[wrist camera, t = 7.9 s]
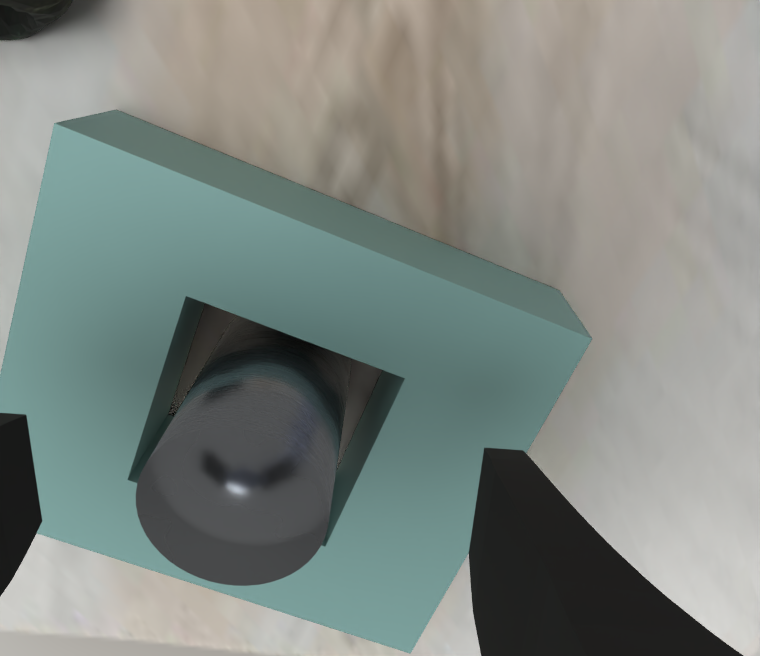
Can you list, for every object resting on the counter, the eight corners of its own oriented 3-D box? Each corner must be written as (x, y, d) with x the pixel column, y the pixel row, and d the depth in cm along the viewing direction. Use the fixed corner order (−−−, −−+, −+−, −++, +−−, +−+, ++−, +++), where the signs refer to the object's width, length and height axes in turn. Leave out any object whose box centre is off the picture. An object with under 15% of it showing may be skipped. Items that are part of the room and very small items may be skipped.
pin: (354, 305, 20) (332, 434, 13) (348, 424, 21) (325, 591, 15) (216, 296, 20) (127, 421, 13) (220, 415, 21) (142, 579, 15)
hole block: (559, 290, 19) (592, 338, 16) (408, 569, 23) (410, 653, 20) (116, 109, 18) (54, 123, 15) (33, 443, 22) (-30, 512, 18)
